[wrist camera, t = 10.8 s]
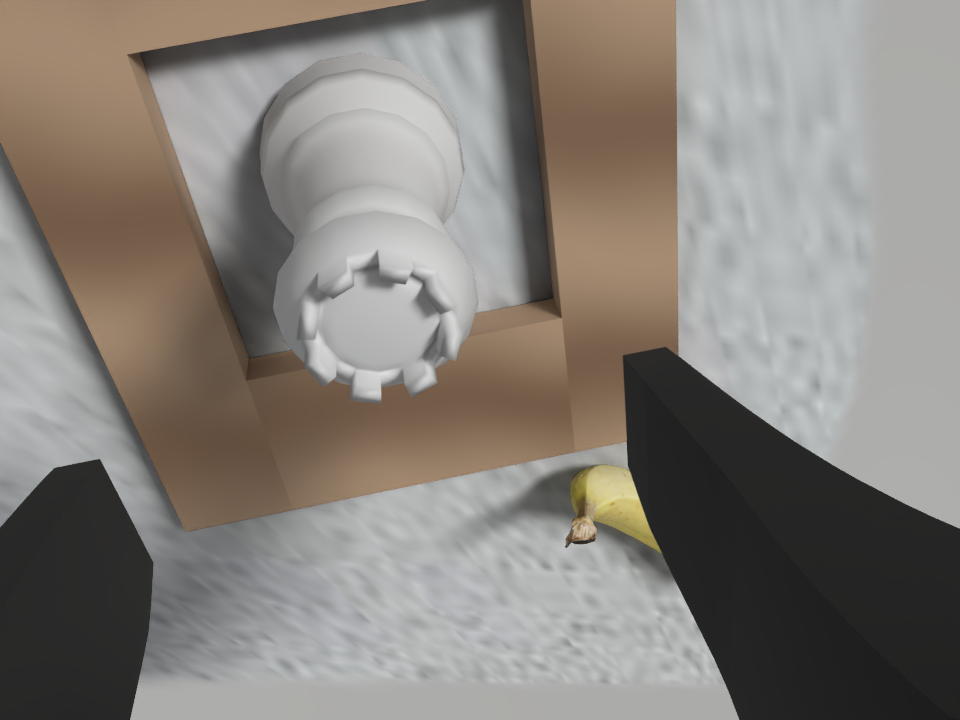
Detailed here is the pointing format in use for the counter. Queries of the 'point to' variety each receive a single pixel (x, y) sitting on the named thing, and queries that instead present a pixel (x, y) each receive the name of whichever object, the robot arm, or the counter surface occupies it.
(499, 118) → the counter surface
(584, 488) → the banana
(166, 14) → the walnut socket board
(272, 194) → the rook chess piece
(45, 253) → the counter surface
